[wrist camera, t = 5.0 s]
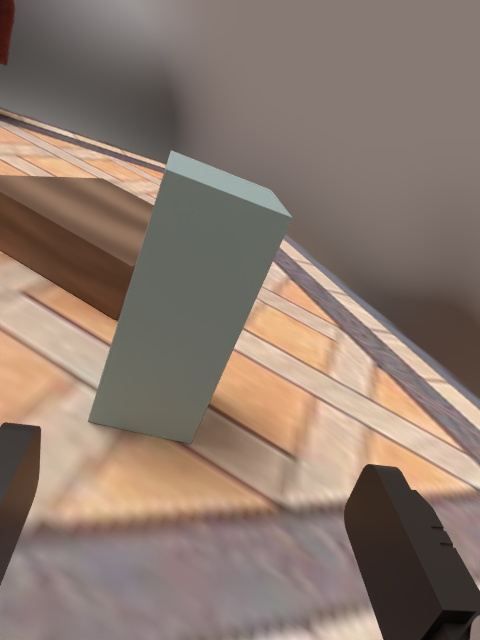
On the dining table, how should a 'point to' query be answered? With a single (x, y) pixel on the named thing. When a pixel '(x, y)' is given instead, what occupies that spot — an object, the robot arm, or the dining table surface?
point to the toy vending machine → (6, 28)
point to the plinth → (75, 234)
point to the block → (188, 298)
